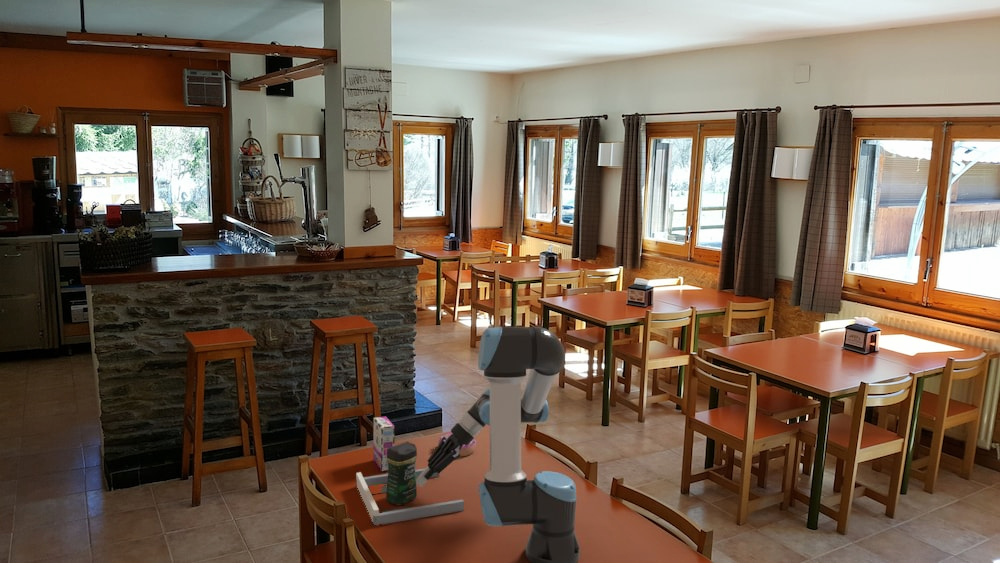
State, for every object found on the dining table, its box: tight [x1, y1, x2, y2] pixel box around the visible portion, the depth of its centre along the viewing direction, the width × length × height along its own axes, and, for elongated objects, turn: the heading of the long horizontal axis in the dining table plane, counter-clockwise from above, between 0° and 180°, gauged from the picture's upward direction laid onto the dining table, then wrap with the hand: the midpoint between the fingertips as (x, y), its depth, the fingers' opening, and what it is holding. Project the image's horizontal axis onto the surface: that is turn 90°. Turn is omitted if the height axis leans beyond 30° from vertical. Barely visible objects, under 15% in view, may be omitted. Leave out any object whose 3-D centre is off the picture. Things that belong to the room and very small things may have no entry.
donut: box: [437, 432, 477, 458], centre depth 273 cm, size 14×14×5 cm
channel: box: [355, 467, 465, 526], centre depth 234 cm, size 27×28×5 cm
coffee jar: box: [385, 441, 418, 506], centre depth 232 cm, size 10×8×19 cm
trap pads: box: [380, 485, 413, 513], centre depth 232 cm, size 24×10×1 cm, turn 22°
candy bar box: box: [372, 415, 396, 472], centre depth 257 cm, size 11×5×16 cm, turn 25°
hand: (417, 484), depth 236 cm, fingers closed
